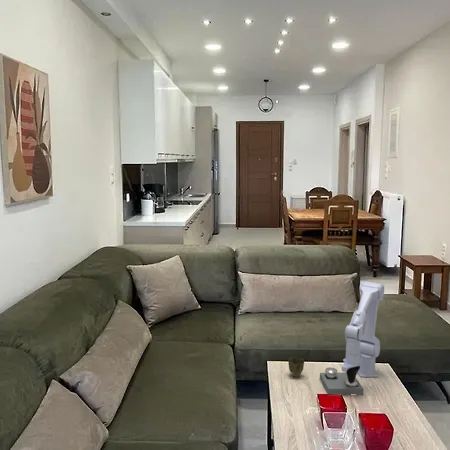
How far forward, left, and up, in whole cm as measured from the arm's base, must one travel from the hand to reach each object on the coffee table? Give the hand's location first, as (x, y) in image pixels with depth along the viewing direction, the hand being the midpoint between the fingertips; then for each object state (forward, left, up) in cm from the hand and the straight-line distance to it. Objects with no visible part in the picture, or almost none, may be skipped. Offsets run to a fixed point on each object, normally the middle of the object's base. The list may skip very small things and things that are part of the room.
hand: (351, 381), depth 204 cm
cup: (-14, -21, -4) cm, 26 cm away
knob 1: (-7, -7, -2) cm, 10 cm away
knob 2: (0, 0, -4) cm, 4 cm away
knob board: (-4, -3, -4) cm, 6 cm away
